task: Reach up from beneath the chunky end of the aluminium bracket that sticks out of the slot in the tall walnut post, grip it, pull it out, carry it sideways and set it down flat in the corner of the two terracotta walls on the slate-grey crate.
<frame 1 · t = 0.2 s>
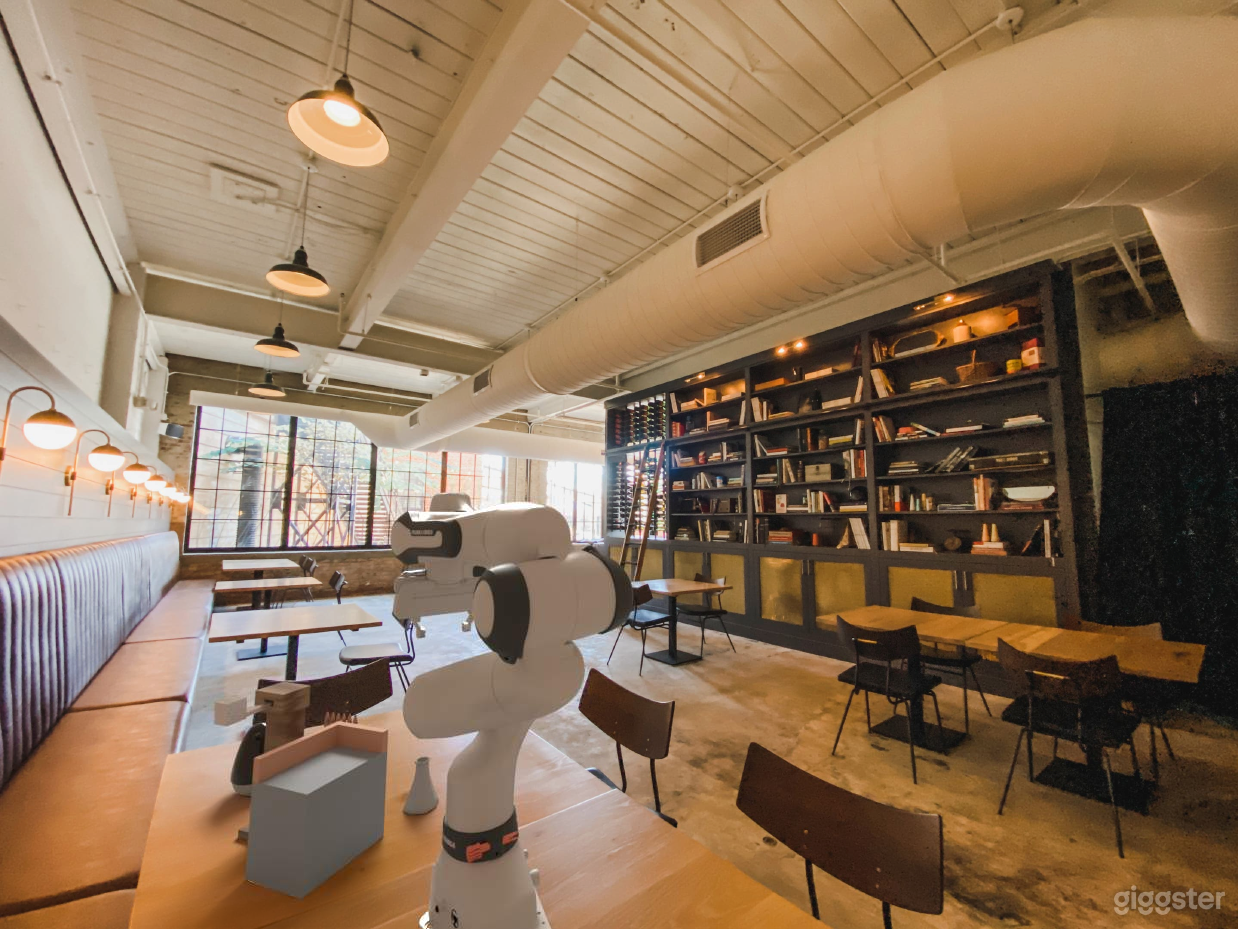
hand: (443, 634, 107), 39 cm above the table, tool pointing down, fingers open, 8 cm apart
flask: (420, 807, 113), on the table
walnut post: (273, 835, 102), on the table
aluminium bracket: (258, 710, 101), point 26 cm above the table, touching walnut post
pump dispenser: (255, 791, 120), on the table
slate crate: (318, 857, 96), on the table
terracotta walls: (324, 764, 98), resting on slate crate
ammunition clip: (338, 760, 135), on the table
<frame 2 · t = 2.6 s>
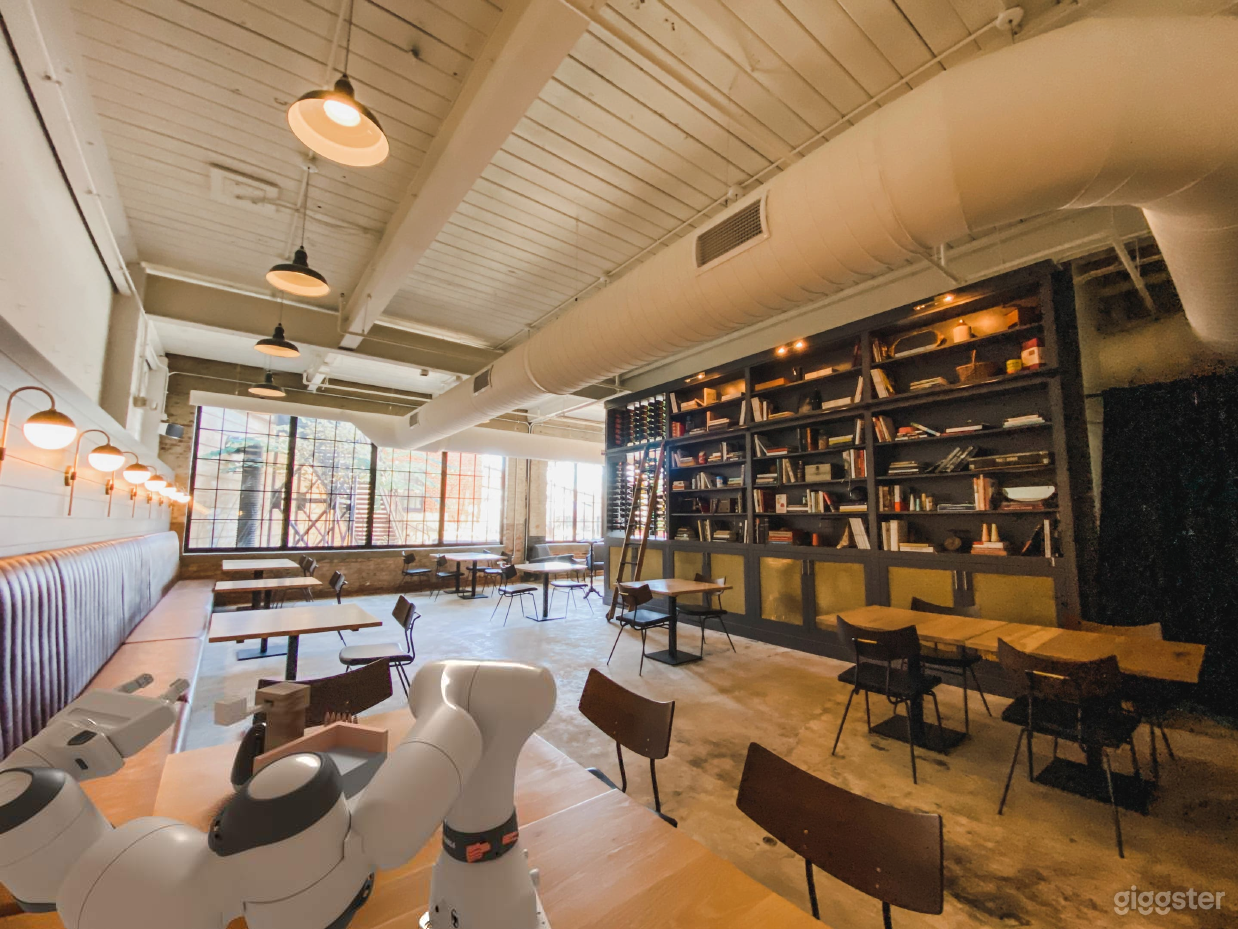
hand: (167, 678, 87), 36 cm above the table, tool pointing upward, fingers open, 8 cm apart
nothing on the table moved.
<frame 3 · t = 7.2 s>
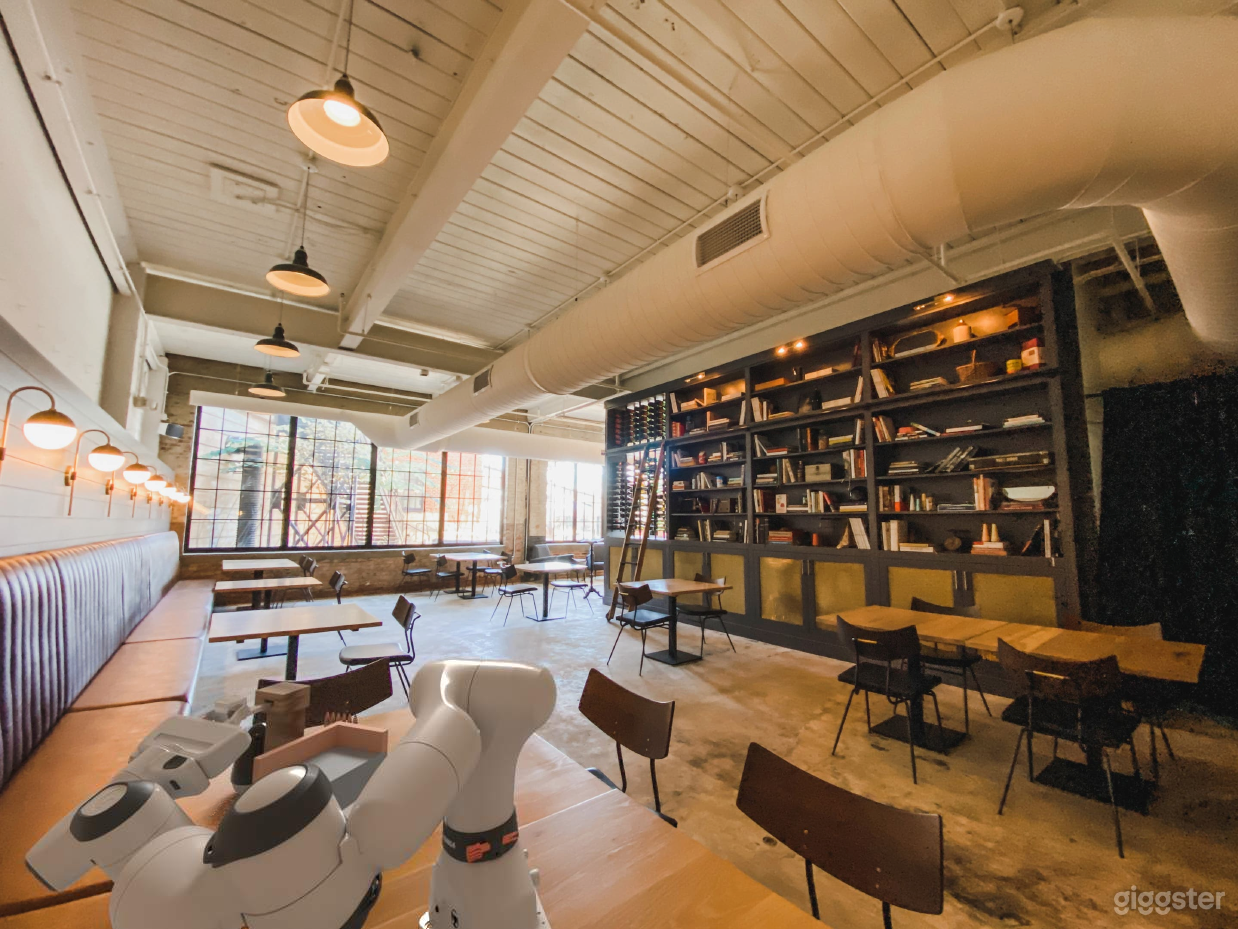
hand: (237, 705, 97), 28 cm above the table, tool pointing upward, fingers closed on aluminium bracket, 3 cm apart
aluminium bracket: (258, 710, 101), point 26 cm above the table, touching gripper, walnut post
everything else where it was.
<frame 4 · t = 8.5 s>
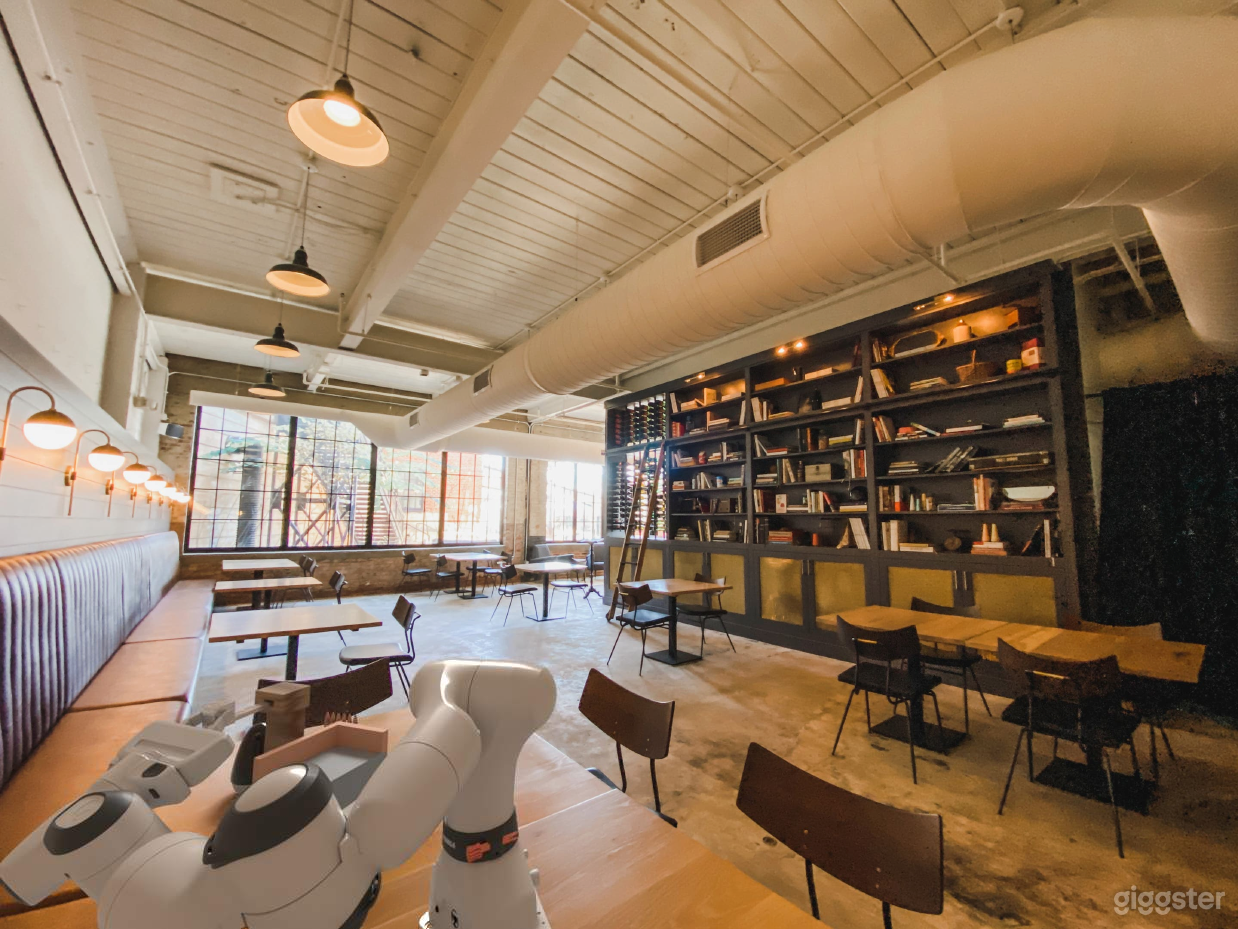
hand: (221, 710, 95), 28 cm above the table, tool pointing upward, fingers closed on aluminium bracket, 3 cm apart
aluminium bracket: (247, 713, 99), point 26 cm above the table, touching gripper
everything else where it was.
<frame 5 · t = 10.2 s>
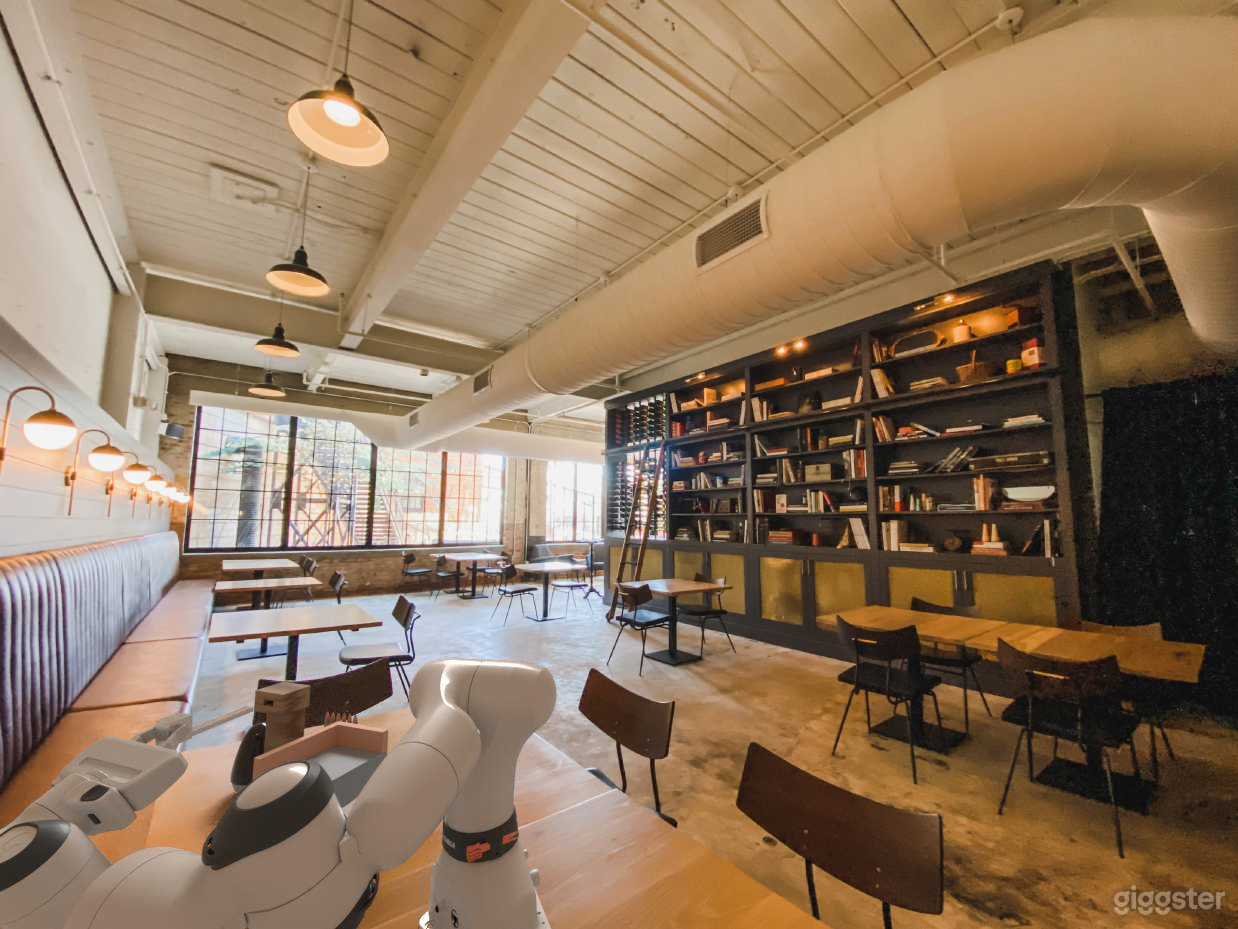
hand: (177, 725, 88), 28 cm above the table, tool pointing upward, fingers closed on aluminium bracket, 3 cm apart
aluminium bracket: (207, 728, 92), point 26 cm above the table, touching gripper
everything else where it was.
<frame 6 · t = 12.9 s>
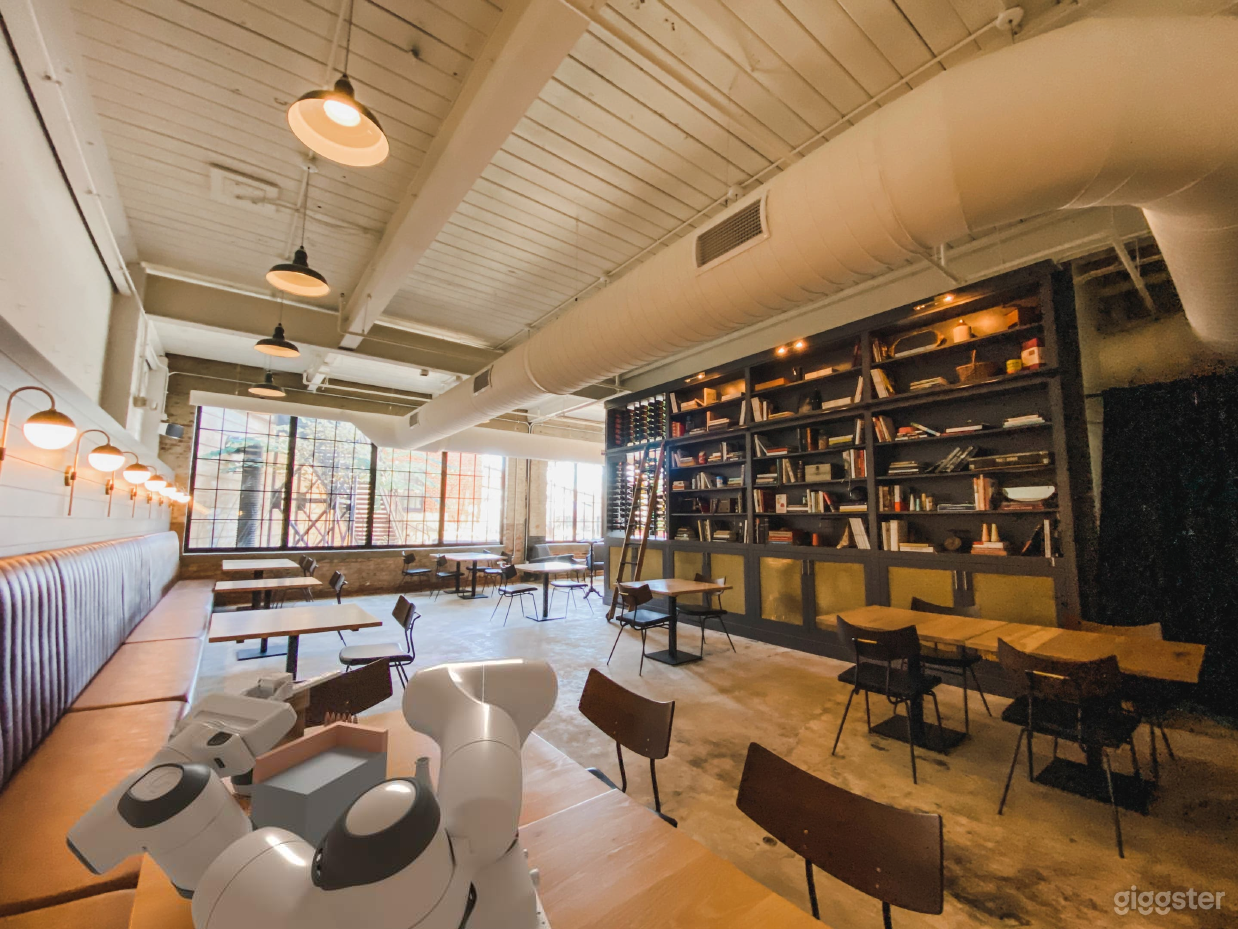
hand: (279, 682, 92), 34 cm above the table, tool pointing upward, fingers closed on aluminium bracket, 3 cm apart
aluminium bracket: (303, 687, 96), point 32 cm above the table, touching gripper
everything else where it was.
when the fingers open (21 cm above the table, at t = 17.1 s): aluminium bracket drops 2 cm, resting on slate crate.
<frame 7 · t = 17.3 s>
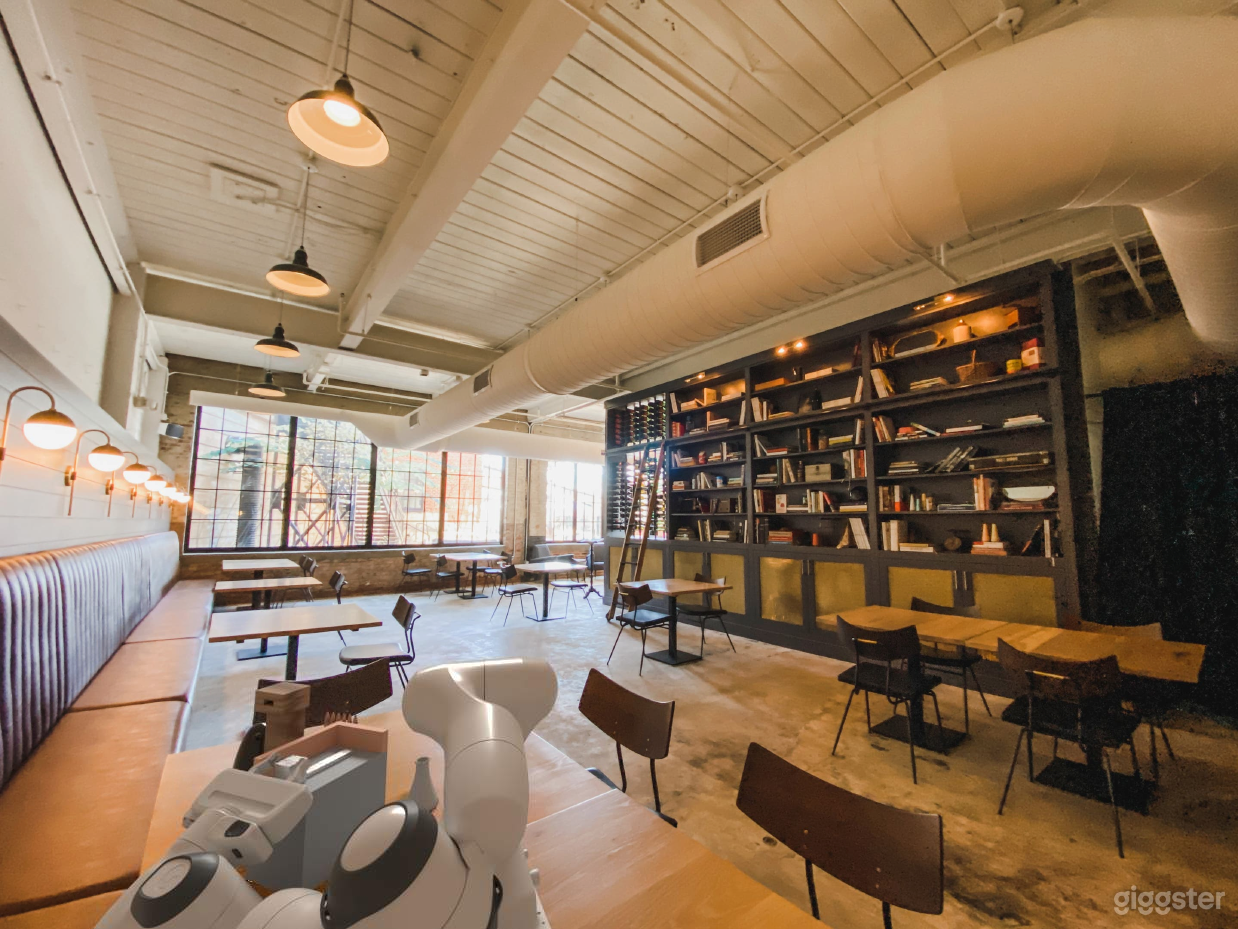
hand: (293, 757, 91), 21 cm above the table, tool pointing upward, fingers open, 5 cm apart
aluminium bracket: (316, 770, 95), point 16 cm above the table, touching slate crate
everything else where it was.
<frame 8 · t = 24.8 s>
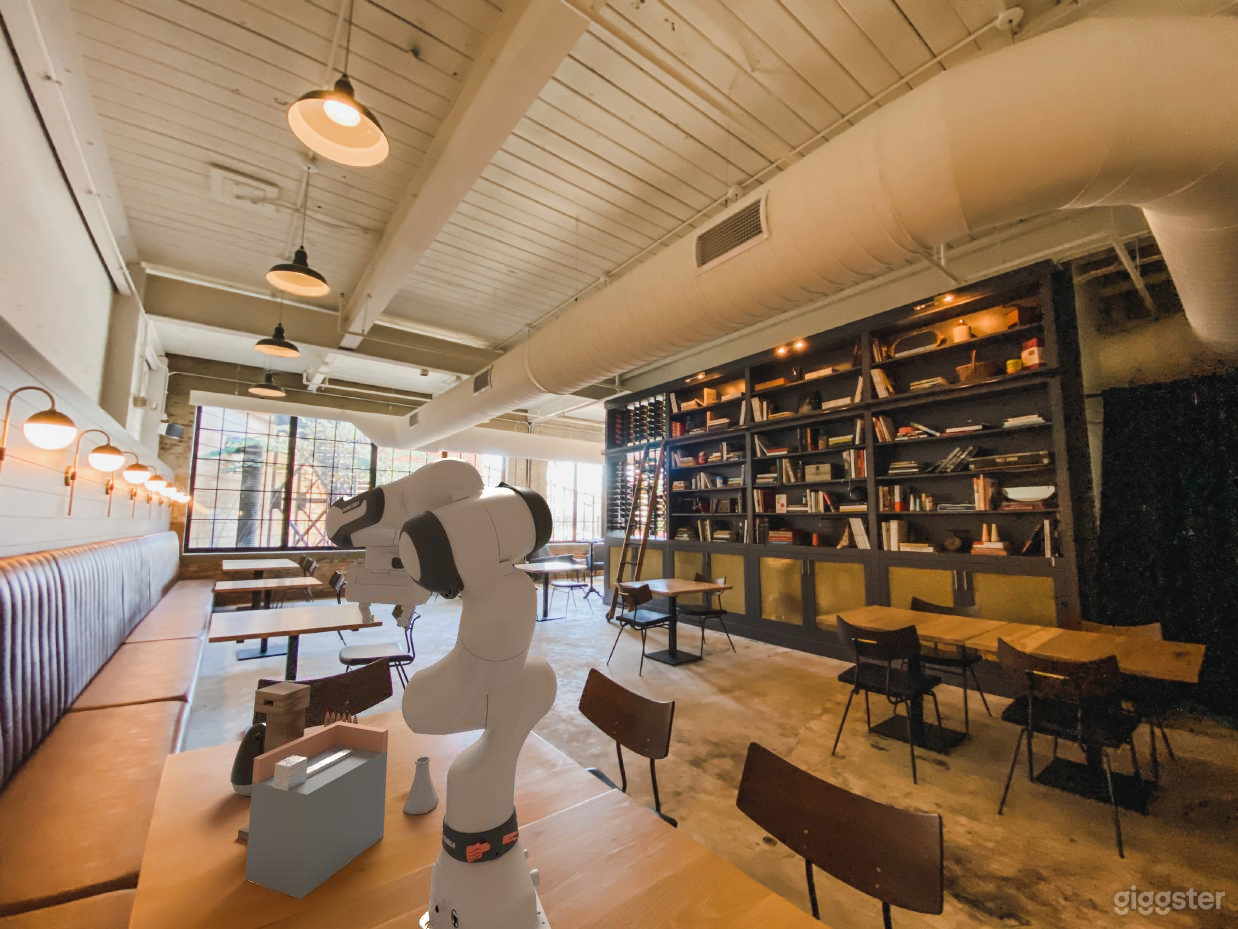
hand: (384, 625, 108), 41 cm above the table, tool pointing down, fingers open, 8 cm apart
nothing on the table moved.
at the end: aluminium bracket 0.6 cm from the target spot on the slate crate, point 16.5 cm above the slate crate's base; aluminium bracket touching slate crate; aluminium bracket tilted 0° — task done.
